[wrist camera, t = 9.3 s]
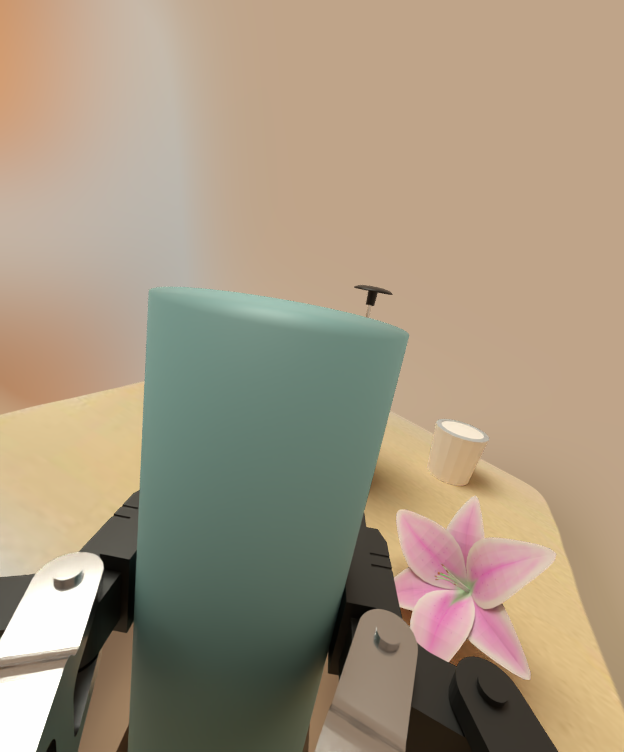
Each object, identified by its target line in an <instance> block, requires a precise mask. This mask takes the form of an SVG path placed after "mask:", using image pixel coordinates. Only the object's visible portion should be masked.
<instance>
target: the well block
mask: <svg viewBox="0 0 624 752" xmlns="http://www.w3.org/2000/svg"><path fill="white" fill-rule="evenodd" d="M133 625H134V622H133V623H132V625H131V627H130V629H129V630H128V632H127V633H123V632H118V631H112V632H111V634H110V636H109V637H108V639H107V640H106V642H105V643H104V645H103V649H102V657H101V661H100V665H99V669H98V673H97V677H96V681H95V685H94V689H93V693H92V697H91V701H90V705H89V708H88V712H87V716H86V720H85V724H84V728H83V732H82V736H81V740H80V744H79V749H78V752H128V734H129V712H130V690H131V668H132V647H133ZM338 683H339V676H338V675H333V674H328V654H327V658H326V662H325V666H324V670H323V674H322V678H321V681H320V685H319V689H318V693H317V697H316V701H315V705H314V709H313V713H312V717H311V720H310V724H309V728H308V732H307V736H306V740H305V744H304V748H303V752H315V749H316V746H317V743H318V740H319V737H320V734H321V731H322V728H323V725H324V722H325V719H326V716H327V713H328V710H329V708H330V705H331V704H332V701H333V698H334V695H335V692H336V689H337V686H338Z"/></svg>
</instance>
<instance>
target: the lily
mask: <svg viewBox="0 0 624 752" xmlns="http://www.w3.org/2000/svg"><path fill="white" fill-rule="evenodd" d="M396 523H397V530H398V536H399V540H400V545H401V548H402V552H403V555H404V557H405V559H406V562H407V564H408V566H409V567H408V568H406V569H405V570H403V571H402V572H400V573H399V574H398V575H397V576H395V577H394V581H395V586H396V591H397V596H398V601H399V606H400V607H401V608H404V609H408V610H412V611H413V612H412V616H411V620H410V628H411V630H412V632H413V633H414V636H415V638H416V641H417V643H418V644H419V645H421V646H422V647H423V648H424V649H426V650H427V651H428V652H430V653H432V654H434V655H435V656H437V657H439V658H441V659H443V660H445V661H447V662H449V661H450V660H451V659H452V658H453V656H454V655H455V654H456V653H457V651H458V650H459V649H460V647H461V646H462V644H463V643H464V642H465V640H466V639H467V638H468V640H469V641H470V642H471V643H472V644H474V645H475V646H476V647H477V648H478V649H479V650H481V651H482V652H483V653H484V654H486V655H487V656H488V657H490V658H491V659H493V660H494V661H495V662H497V663H498V664H500V665H501V666H503V667H504V668H506V669H507V670H509V671H510V672H512V673H513V674H515V675H517V676H519V677H521V678H522V679H527V680H530V678H531V672H530V669H529V666H528V663H527V660H526V657H525V654H524V652H523V649H522V646H521V644H520V641H519V639H518V636H517V634H516V632H515V629H514V627H513V625H512V622H511V620H510V618H509V616H508V614H507V612H506V610H505V608H504V606H503V604H502V603H503V602H505V601H506V600H507V599H509V598H510V597H511V596H513V595H514V594H515V593H516V592H518V591H519V590H520V589H521V588H523V587H524V586H525V585H527V584H528V583H529V582H531V581H532V580H533V579H535V578H536V577H537V576H538V575H540V574H541V573H542V572H543V571H545V570H546V569H547V568H548V567H549V566H550V565H551V564H552V563H553V562H554V561H555V557H556V553H555V552H554V551H552V550H551V549H550V548H547V547H544V546H541V545H538V544H534V543H529V542H524V541H519V540H512V539H505V538H494V537H490V538H484V528H483V521H482V514H481V509H480V504H479V500H478V498H477V497H476V496H473V497H471V498H470V499H469V500H468V501H467V502H465V504H464V505H463V506H462V507H461V508H460V509H459V510H458V512H457V513H456V514H455V516H454V517H453V518H452V520H451V521H450V523H449V525H448V526H447V528H446V529H445V528H444V527H442V526H441V525H439V524H438V523H436V522H435V521H433V520H431V519H428V518H426V517H424V516H422V515H420V514H417V513H415V512H412V511H409V510H404V509H401V510H398V512H397V514H396Z"/></svg>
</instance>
